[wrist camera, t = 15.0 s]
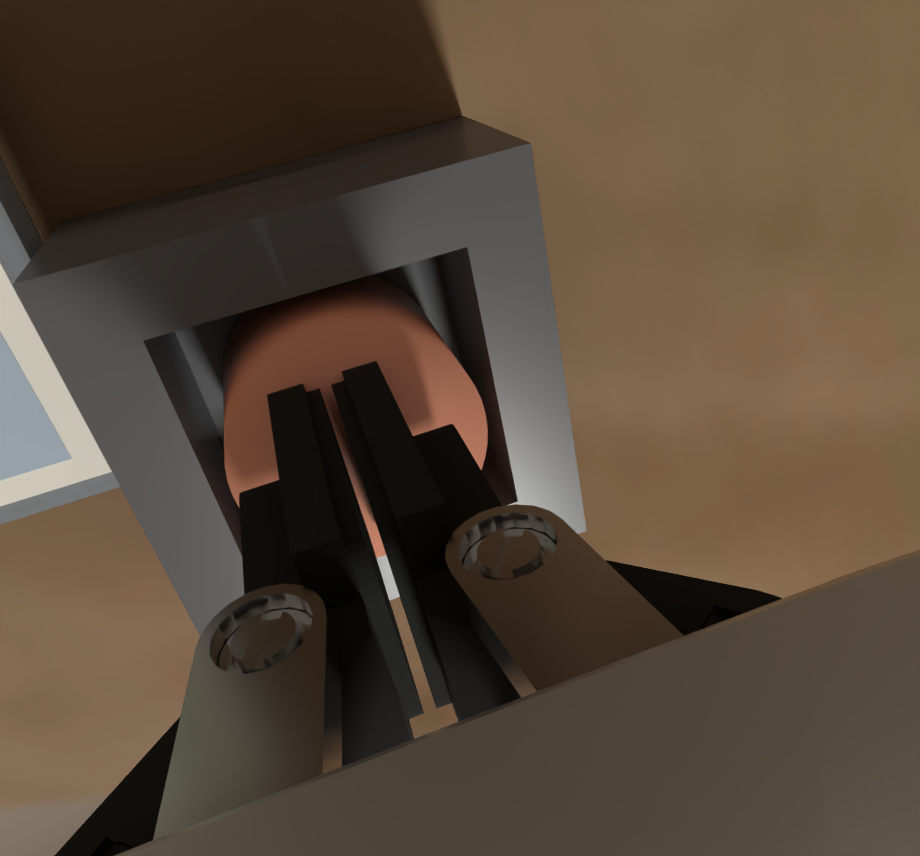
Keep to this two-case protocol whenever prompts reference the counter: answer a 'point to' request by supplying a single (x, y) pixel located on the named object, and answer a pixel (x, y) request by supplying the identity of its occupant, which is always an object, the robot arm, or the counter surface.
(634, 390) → the counter surface
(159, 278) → the button box
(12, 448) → the picture board
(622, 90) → the counter surface
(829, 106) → the counter surface
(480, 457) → the button
